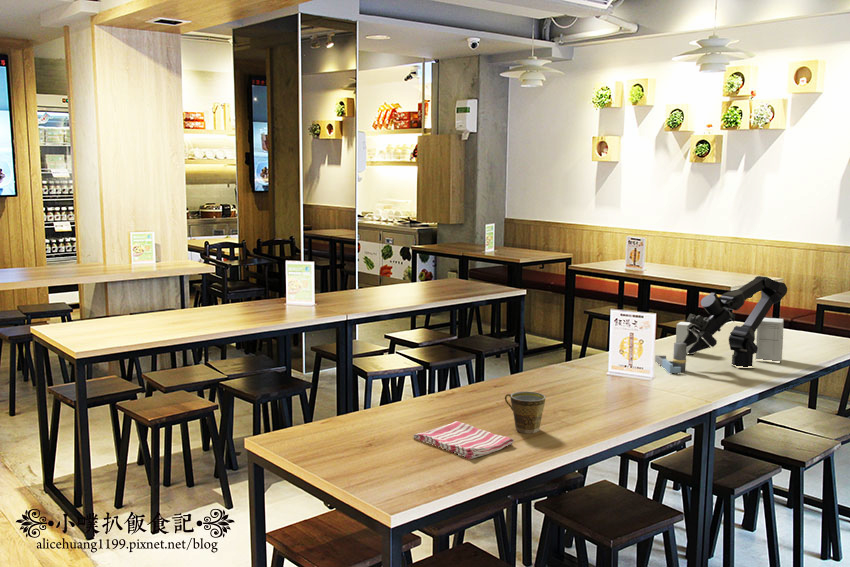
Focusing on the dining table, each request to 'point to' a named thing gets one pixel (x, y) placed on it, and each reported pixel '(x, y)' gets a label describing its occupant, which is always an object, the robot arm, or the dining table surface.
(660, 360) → the duct rail
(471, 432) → the dish towel
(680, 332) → the supplement box
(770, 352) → the supplement box
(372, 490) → the dining table surface
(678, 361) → the gray banded cylinder
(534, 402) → the ceramic cup
